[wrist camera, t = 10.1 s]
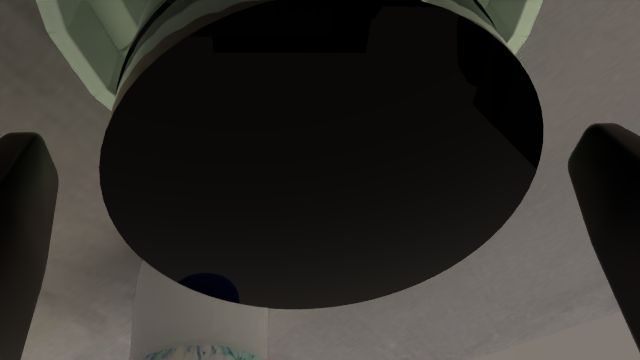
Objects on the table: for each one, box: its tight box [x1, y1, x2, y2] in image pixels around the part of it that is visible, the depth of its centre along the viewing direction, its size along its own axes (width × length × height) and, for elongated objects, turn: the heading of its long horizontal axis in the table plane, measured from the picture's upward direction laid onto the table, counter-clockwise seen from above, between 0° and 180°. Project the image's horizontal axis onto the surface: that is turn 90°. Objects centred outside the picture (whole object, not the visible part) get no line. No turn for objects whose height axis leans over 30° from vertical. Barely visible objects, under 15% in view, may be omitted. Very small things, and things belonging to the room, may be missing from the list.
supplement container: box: [99, 0, 543, 309], centre depth 11 cm, size 7×7×10 cm
